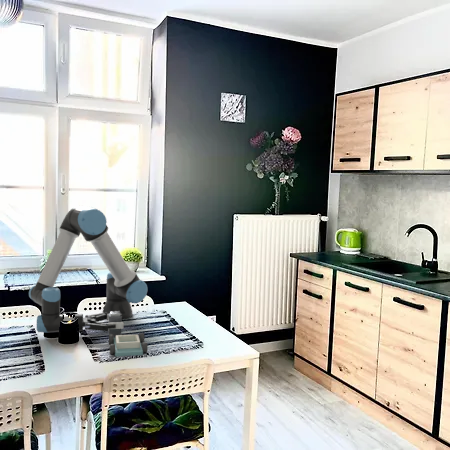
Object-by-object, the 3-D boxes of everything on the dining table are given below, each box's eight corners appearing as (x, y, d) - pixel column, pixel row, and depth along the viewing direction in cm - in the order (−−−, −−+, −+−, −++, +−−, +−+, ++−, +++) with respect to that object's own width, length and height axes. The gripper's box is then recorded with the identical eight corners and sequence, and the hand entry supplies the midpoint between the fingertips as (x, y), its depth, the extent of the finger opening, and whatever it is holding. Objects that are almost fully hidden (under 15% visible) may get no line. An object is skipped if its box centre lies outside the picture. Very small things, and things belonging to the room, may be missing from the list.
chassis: (108, 341, 208) (108, 332, 207) (142, 339, 212) (143, 330, 211) (110, 356, 191) (110, 347, 190) (147, 354, 195) (148, 345, 194)
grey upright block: (108, 336, 214) (109, 314, 213) (108, 332, 220) (108, 311, 219) (121, 335, 216) (121, 314, 215) (120, 331, 221) (120, 310, 220)
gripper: (74, 322, 224) (120, 320, 230) (72, 340, 201) (124, 337, 207) (74, 306, 224) (120, 305, 230) (73, 323, 200) (124, 321, 206)
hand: (122, 320), depth 218 cm, fingers open, 13 cm apart
